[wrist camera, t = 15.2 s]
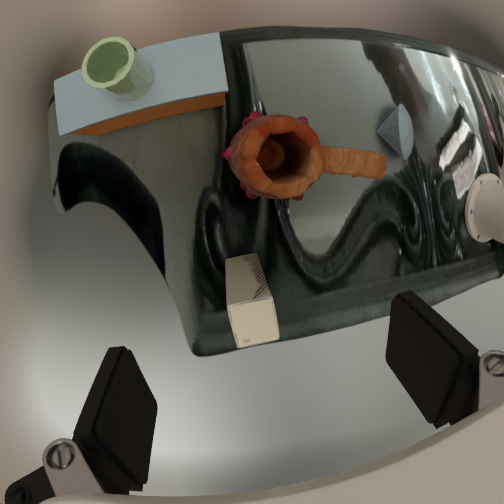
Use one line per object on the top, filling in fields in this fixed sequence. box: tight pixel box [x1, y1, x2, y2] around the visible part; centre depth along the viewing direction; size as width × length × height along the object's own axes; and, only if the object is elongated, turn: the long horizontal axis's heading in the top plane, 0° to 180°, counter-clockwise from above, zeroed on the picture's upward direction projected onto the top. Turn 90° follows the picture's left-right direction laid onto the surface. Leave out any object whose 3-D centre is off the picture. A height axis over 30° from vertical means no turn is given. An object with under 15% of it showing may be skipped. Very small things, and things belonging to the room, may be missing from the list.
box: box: [225, 253, 279, 348], centre depth 33 cm, size 5×4×13 cm
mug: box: [222, 111, 387, 201], centre depth 28 cm, size 15×8×15 cm, turn 87°
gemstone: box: [376, 104, 413, 160], centre depth 33 cm, size 8×8×5 cm
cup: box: [82, 37, 153, 101], centre depth 18 cm, size 4×4×6 cm
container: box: [54, 32, 228, 136], centre depth 26 cm, size 16×6×10 cm, turn 99°
